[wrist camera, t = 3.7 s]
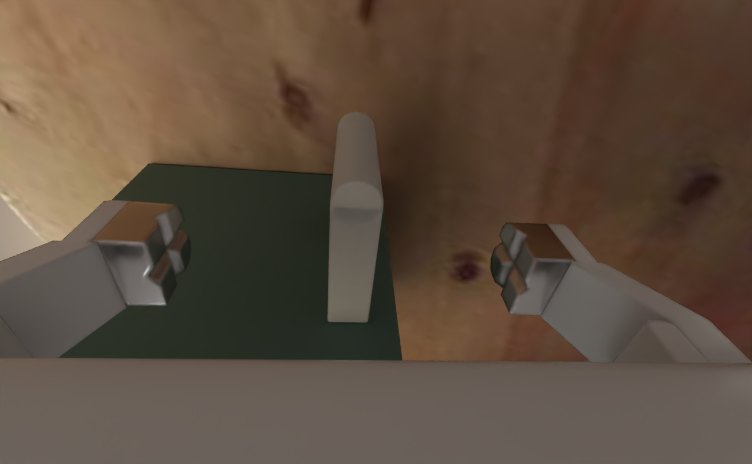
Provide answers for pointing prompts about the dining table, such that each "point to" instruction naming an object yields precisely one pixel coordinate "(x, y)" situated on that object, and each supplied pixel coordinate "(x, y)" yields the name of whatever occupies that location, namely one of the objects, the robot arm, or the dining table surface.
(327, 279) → the door
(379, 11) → the dining table surface
